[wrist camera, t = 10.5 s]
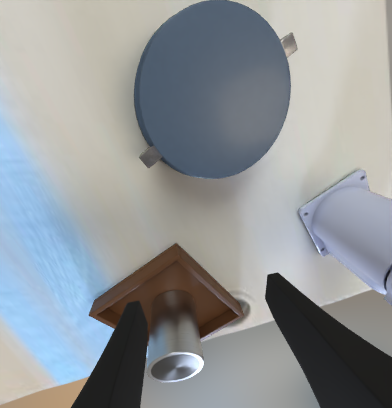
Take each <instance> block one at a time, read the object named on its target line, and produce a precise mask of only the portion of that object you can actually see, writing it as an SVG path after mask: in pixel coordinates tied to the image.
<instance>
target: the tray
mask: <svg viewBox="0 0 392 408" xmlns="http://www.w3.org/2000/svg"><path fill="white" fill-rule="evenodd" d="M172 290H181V291H185V292H187V293H189V294H190V295H192V297H193V298H194V301H195V307H196V314H197V320H198V327H199V333H200V340H201V341H202V340H204V339H205V338H207V337H209V336H210V335H212V334H214V333H216V332H217V331H219V330H221V329H222V328H224V327H226V326H228V325H229V324H231V323H233V322H235V321H236V320H238V319H240V318H241V317H243V316H244V313H243V311H242V308H241V306H240V303H239V302H238V301H237V300H236V299H235V298H234V297H233V296H231V295H230V294H229V293H228V292H227V291H226V290H225V289H224V288H223V287H222V286H221V285H220V284H219V283H218V282H217V281H216V280H215V279H214V278H213V277H212V276H211V275H209V274H208V273H207V272H206V271H205V270H204V269H203V268H202V267H201V266H200V265H199V264H198V263H197V262H196V261H195V260H194V259H193V258H192V257H191V256H190V255H189V254H187V253H186V252H185V251H184V250H183V249H182V248H181V247H180V246H179V245H178V244H177V243H176V244H174V245H173V246H171V247H170V248H168V249H167V250H166V251H164V252H163V253H161V254H160V255H158V256H157V257H156V258H154V259H153V260H151V261H150V262H148V263H147V264H146V265H144V266H143V267H141V268H140V269H138V270H137V271H136V272H134V273H133V274H131V275H130V276H128V277H127V278H126V279H124V280H123V281H121V282H120V283H118V284H117V285H115V286H114V287H113V288H111V289H110V290H108V291H107V292H105V293H104V294H103V295H101V296H100V297H98V298H97V299H95V300H94V302H93V305H92V308H91V310H90V313H89V316H91V317H93V318H94V319H96V320H98V321H100V322H102V323H104V324H106V325H108V326H110V327H112V328H114V329H115V328H116V326H117V324H118V321H119V319H120V317H121V315H122V313H123V311H124V308H125V306H126V304H127V303H129V302H134V301H140V304H141V306H142V309H143V312H144V314H145V317H146V320H147V322H148V340H147V346H149V333H150V320H151V307H152V303H153V301H154V299H155V298H156V297H157V296H159V295H160V294H162V293H164V292H167V291H172Z"/></svg>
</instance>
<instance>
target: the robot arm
mask: <svg viewBox="0 0 392 408" xmlns="http://www.w3.org/2000/svg"><path fill="white" fill-rule="evenodd" d="M299 214H300V216H301V218H302V220H303V222H304V224H305V226H306V228H307V230H308V232H309V234H310V236H311V238H312V240H313V242H314V244H315V246H316V248H317V250H318V251H319V253H320V255H321V256H326V255H328V254H329V253H330V254H331V255H332V256H334V257H335V258H336V259H337V260H338V261H339V262H341V263H342V264H343V265H344V266H345V267H347V268H348V269H349V270H350V271H351V272H352V273H354V274H355V275H356V276H357V277H358V278H360V279H361V280H362V281H363V282H364V283H366V284H367V285H368V286H369V287H371V288H372V289H374V290H375V291H377V292H380V293H382V294H385V297H384V299H385V300H386V301H387V302H388V303H389V304H391V305H392V199H389V198H387V197H384V196H381V195H379V194H376V193H373V192H371V191H370V189H369V185H368V181H367V176H366V172H365V171H364V170H361V169H360V170H357V171H356V172H354V173H353V174H351V175H350V176H348V177H347V178H345V179H344V180H342V181H341V182H339V183H337V184H336V185H334V186H333V187H331V188H330V189H328V190H327V191H325V192H324V193H322V194H321V195H319V196H318V197H316V198H314V199H313V200H311V201H310V202H308V203H307V204H305V205H304V206H302V207H301V208H300V209H299ZM265 299H266V302H267V304H268V306H269V309H270V311H271V313H272V315H273V318H274V319H275V321H276V323H277V325H278V327H279V328H280V330H281V332H282V334H283V335H284V337H285V339H286V341H287V343H288V344H289V346H290V348H291V350H292V352H293V353H294V355H295V357H296V359H297V360H298V362H299V364H300V366H301V368H302V370H303V372H304V373H305V375H306V378H307V380H308V382H309V384H310V386H311V388H312V390H313V392H314V395H315V397H316V399H317V401H318V403H319V405H320V407H321V408H392V357H391V356H389V355H387V354H385V353H384V352H382V351H381V350H379V349H378V348H376V347H374V346H373V345H372V344H370V343H369V342H367V341H366V340H364V339H362V338H361V337H360V336H358V335H357V334H355V333H354V332H352V331H351V330H349V329H348V328H346V327H345V326H344V325H342V324H341V323H340V322H338V321H337V320H335V319H334V318H333V317H331V316H330V315H329V314H328V313H326V312H325V311H323V310H322V309H321V308H320V307H319V306H317V305H316V304H315V303H314V302H312V301H311V300H310V299H309V298H307V297H306V296H305V295H304V294H302V293H301V292H300V291H299V290H298V289H297V288H295V287H294V286H293V285H292V284H291V283H290V282H288V281H287V280H286V279H285V278H284V277H283V276H281V275H280V274H279V273H274V274H269V275H268V276H267V286H266V295H265ZM147 340H148V322H147V320H146V317H145V314H144V312H143V309H142V306H141V304H140V301H134V302H129V303H127V304H126V306H125V308H124V311H123V313H122V315H121V317H120V319H119V321H118V324H117V326H116V328H115V330H114V332H113V334H112V336H111V338H110V340H109V342H108V344H107V346H106V348H105V349H104V351H103V353H102V355H101V357H100V359H99V361H98V362H97V364H96V366H95V368H94V370H93V371H92V373H91V375H90V377H89V378H88V380H87V382H86V384H85V385H84V387H83V389H82V390H81V392H80V394H79V395H78V397H77V399H76V400H75V402H74V403H73V405H72V407H71V408H140V402H141V395H142V387H143V378H144V370H145V361H146V353H147Z"/></svg>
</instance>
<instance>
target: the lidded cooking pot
mask: <svg viewBox="0 0 392 408" xmlns="http://www.w3.org/2000/svg"><path fill="white" fill-rule="evenodd" d="M296 50H297V45H296V42H295V39H294V36H293V33H292V32H291V33H290V34H288V35H286V36H285V37H283V38H282V39H279V38H278V36H277V34H276V33H275V31H274V30H273V29H272V27H271V26H270V25H269V24H268V22H267V21H266V20H265V19H264V18H262V17H261V16H260V15H259V14H258V13H256V12H255V11H253V10H252V9H250V8H249V7H247V6H244V5H242V4H239V3H237V2H232V1H228V0H209V1H202V2H199V3H196V4H193V5H191V6H189V7H187V8H185V9H183V10H182V11H180V12H178V13H177V14H175V15H174V16H172V17H171V18H170V19H168V20H167V21H166V22H165V23H163V24H162V25H161V26H160V28H159V29H158V30H157V31H156V32H155V33H154V35H153V36H152V37H151V39H150V40H149V42H148V43H147V45H146V47H145V49H144V52H143V54H142V56H141V59H140V62H139V65H138V68H137V73H136V78H135V86H134V106H135V112H136V117H137V121H138V124H139V127H140V130H141V132H142V134H143V136H144V138H145V140H146V141H147V143H148V145H149V146H150V147H148V148H147V149H146V150H145V151H144V152H142V153H141V155H140V157H139V158H140V159H141V161H142V162H143V163H144V164H145V165H146V166H147V167H148V168H150V167H151V166H152V165H154V164H155V163H156V162H157V161H159V160H160V159H161V160H162V161H163V162H165V163H166V164H167V165H168V166H170V167H171V168H173V169H174V170H176V171H178V172H180V173H183V174H185V175H188V176H192V177H197V178H205V179H218V178H225V177H229V176H232V175H235V174H238V173H240V172H242V171H244V170H246V169H247V168H249V167H251V166H252V165H253V164H255V163H256V162H257V161H258V160H260V159H261V158H262V157H263V156H264V155H265V153H266V152H267V151H268V150H269V149H270V147H271V146H272V145H273V143H274V142H275V140H276V138H277V137H278V135H279V133H280V131H281V129H282V126H283V124H284V121H285V119H286V115H287V111H288V107H289V101H290V90H291V82H290V71H289V65H288V60H287V57H289V56H290V55H291V54H292V53H294V52H295V51H296Z"/></svg>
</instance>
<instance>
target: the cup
mask: <svg viewBox="0 0 392 408" xmlns="http://www.w3.org/2000/svg"><path fill="white" fill-rule="evenodd" d="M203 364H204V359H203V353H202V346H201V340H200V333H199V327H198V320H197V314H196V307H195V301H194V298H193V297H192V295H190V294H189V293H187V292H185V291H181V290H172V291H167V292H164V293H162V294H160V295H159V296H157V297H156V298H155V299H154V301H153V303H152V307H151V320H150V333H149V347H148V360H147V374H148V376H149V377H150V378H151V379H153V380H155V381H159V382H177V381H181V380H185V379H187V378H189V377H192V376H193V375H195V374H196V373H198V372H199V371H200V370H201V369H202V367H203Z"/></svg>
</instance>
